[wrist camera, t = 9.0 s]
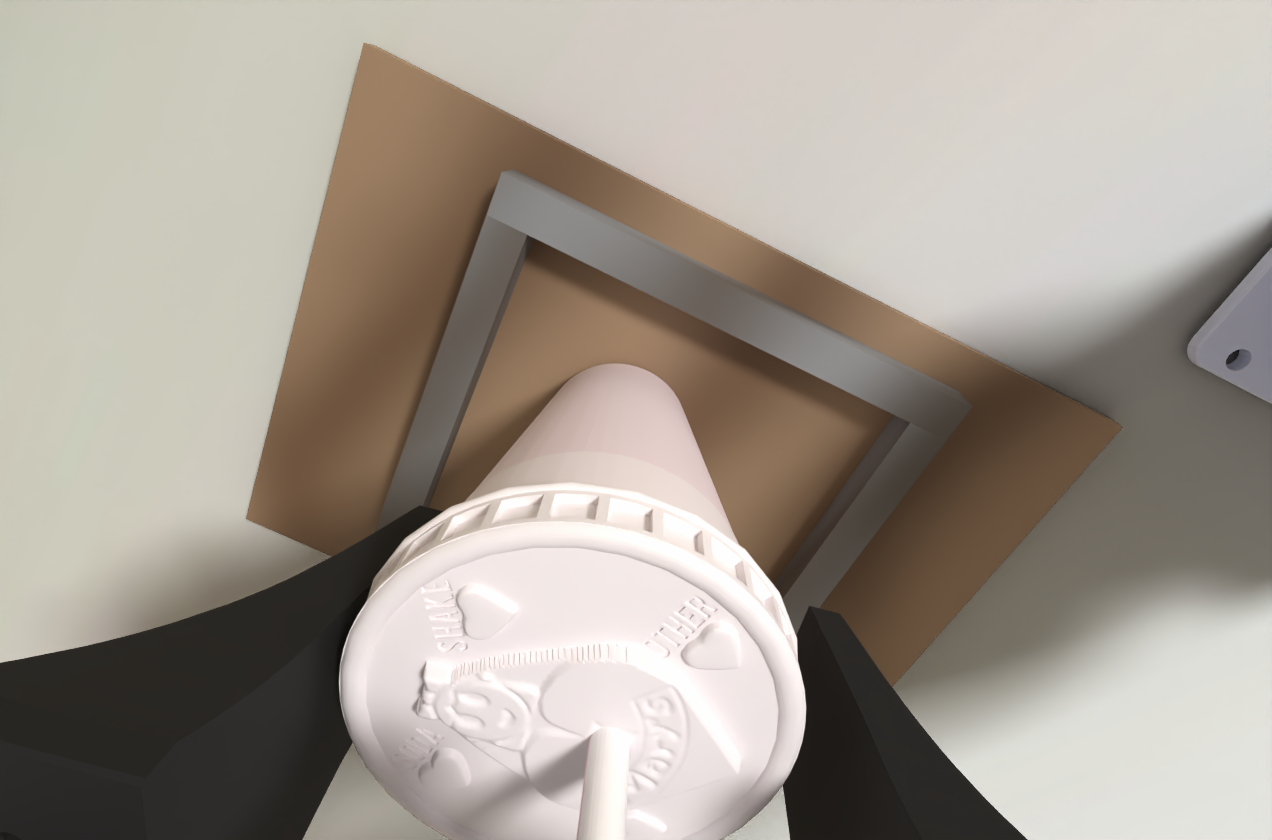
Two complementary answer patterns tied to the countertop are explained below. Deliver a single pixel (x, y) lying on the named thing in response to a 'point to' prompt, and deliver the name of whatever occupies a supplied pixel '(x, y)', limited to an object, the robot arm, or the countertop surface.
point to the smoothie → (579, 641)
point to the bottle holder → (649, 339)
